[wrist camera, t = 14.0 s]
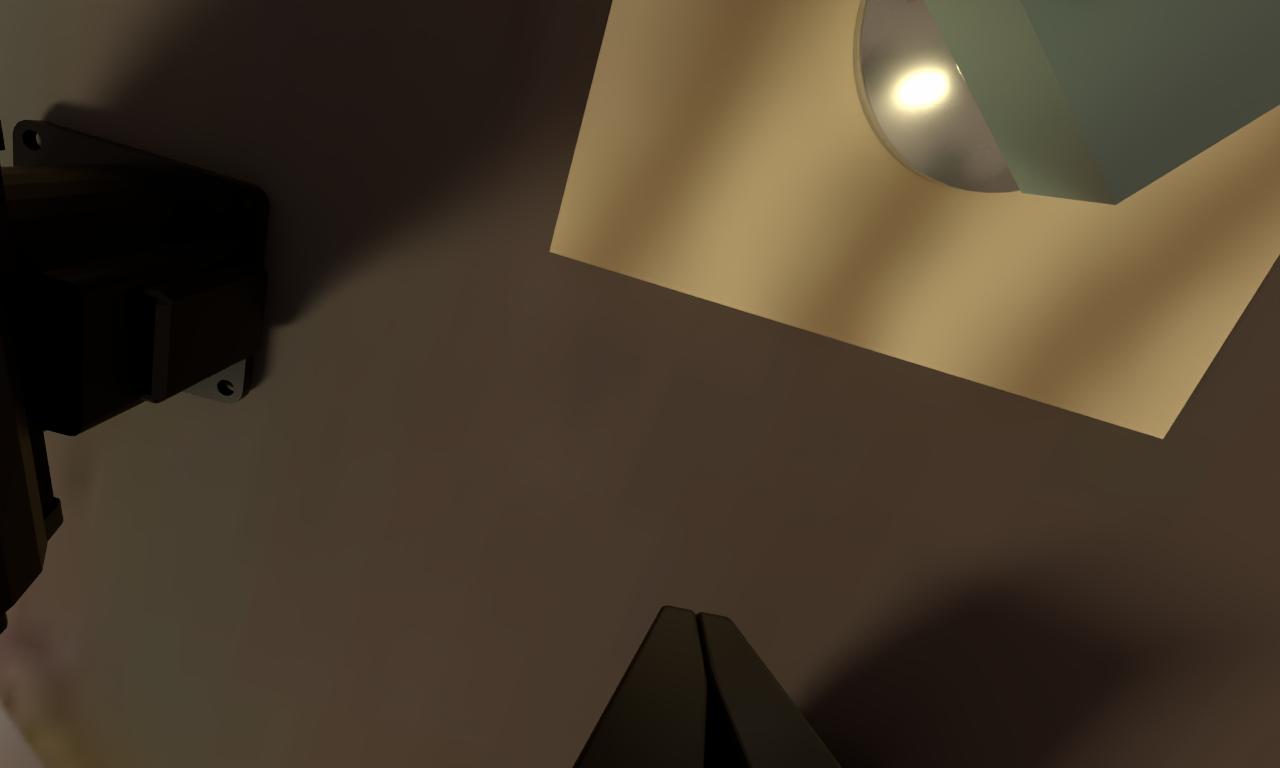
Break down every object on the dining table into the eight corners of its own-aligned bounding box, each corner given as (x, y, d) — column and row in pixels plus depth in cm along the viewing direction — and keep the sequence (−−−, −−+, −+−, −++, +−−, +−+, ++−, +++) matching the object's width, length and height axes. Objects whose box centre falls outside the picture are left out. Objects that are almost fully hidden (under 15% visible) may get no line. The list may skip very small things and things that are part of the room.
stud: (808, 142, 16) (838, 141, 14) (930, -194, 14) (997, -278, 11) (1065, 226, 17) (1146, 242, 14) (1224, -85, 15) (1359, -140, 12)
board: (554, 246, 18) (549, 251, 18) (753, -533, 13) (760, -585, 12) (1139, 424, 20) (1162, 438, 19) (1533, -220, 14) (1593, -245, 14)
